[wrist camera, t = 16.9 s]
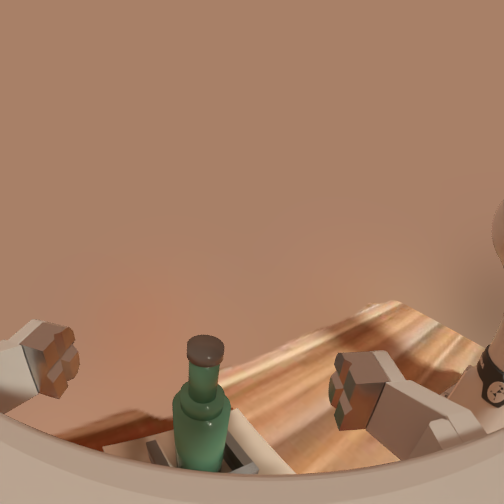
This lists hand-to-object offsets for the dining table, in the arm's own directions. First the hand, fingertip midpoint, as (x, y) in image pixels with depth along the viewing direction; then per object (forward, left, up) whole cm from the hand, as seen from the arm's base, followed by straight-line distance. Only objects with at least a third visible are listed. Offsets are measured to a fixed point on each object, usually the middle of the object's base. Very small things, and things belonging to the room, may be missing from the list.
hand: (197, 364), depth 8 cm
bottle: (-6, -10, -28) cm, 31 cm away
